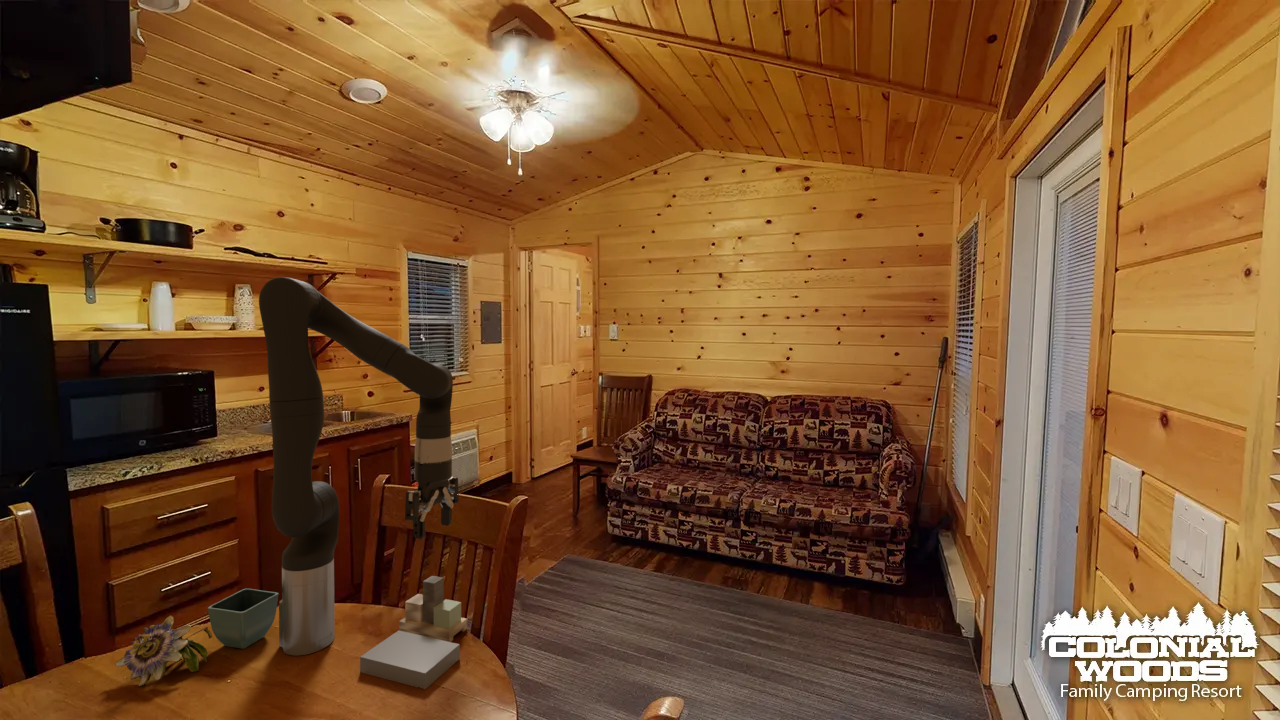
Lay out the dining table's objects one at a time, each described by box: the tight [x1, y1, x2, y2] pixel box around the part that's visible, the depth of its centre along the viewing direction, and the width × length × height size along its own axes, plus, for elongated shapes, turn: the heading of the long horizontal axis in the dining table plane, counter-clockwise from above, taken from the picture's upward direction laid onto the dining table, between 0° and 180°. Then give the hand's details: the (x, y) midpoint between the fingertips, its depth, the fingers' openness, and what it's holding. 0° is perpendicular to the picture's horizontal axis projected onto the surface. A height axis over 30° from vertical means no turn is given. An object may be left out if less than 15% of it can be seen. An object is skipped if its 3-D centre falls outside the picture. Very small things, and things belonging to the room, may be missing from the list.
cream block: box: [404, 593, 423, 623], centre depth 121 cm, size 4×4×4 cm
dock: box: [359, 629, 461, 690], centre depth 107 cm, size 15×10×3 cm, turn 72°
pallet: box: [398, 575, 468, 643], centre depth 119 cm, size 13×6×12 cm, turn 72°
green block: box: [434, 598, 462, 629], centre depth 118 cm, size 4×4×4 cm
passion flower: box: [114, 615, 213, 687], centre depth 104 cm, size 11×11×12 cm
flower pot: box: [207, 588, 280, 650], centre depth 114 cm, size 9×9×9 cm
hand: (433, 531), depth 119 cm, fingers open, 8 cm apart
